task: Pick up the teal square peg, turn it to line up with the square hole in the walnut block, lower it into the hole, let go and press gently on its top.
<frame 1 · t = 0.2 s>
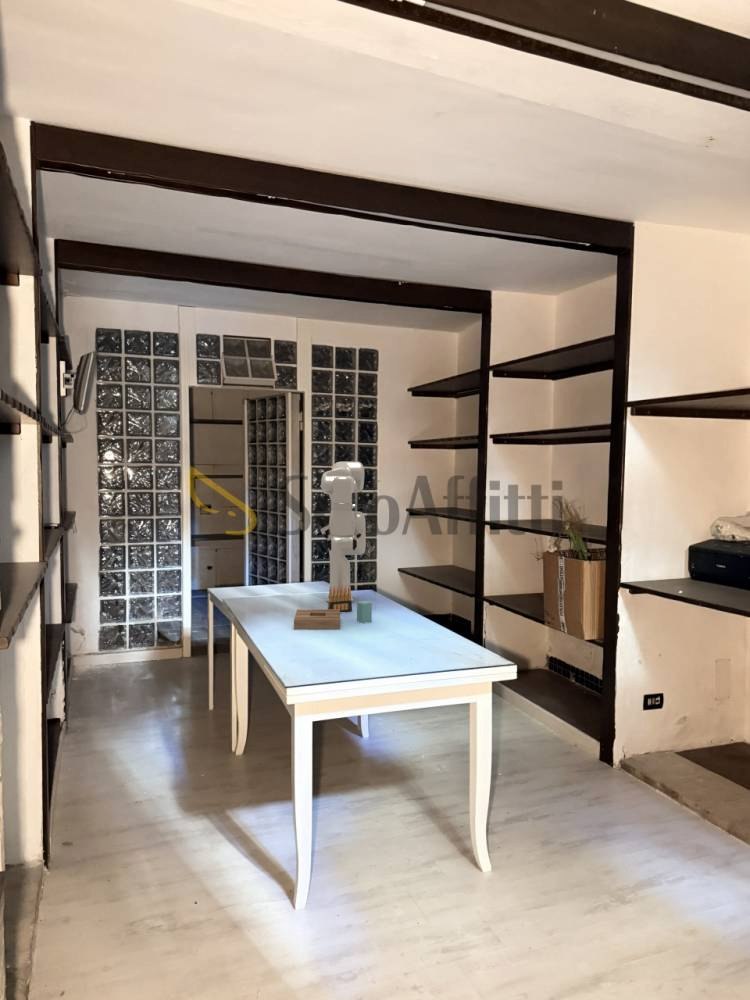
hand: (342, 549, 271), 30 cm above the table, tool pointing down, fingers open, 9 cm apart
socket block: (317, 623, 274), on the table
ammunition clip: (340, 612, 295), on the table
peg: (364, 621, 279), on the table
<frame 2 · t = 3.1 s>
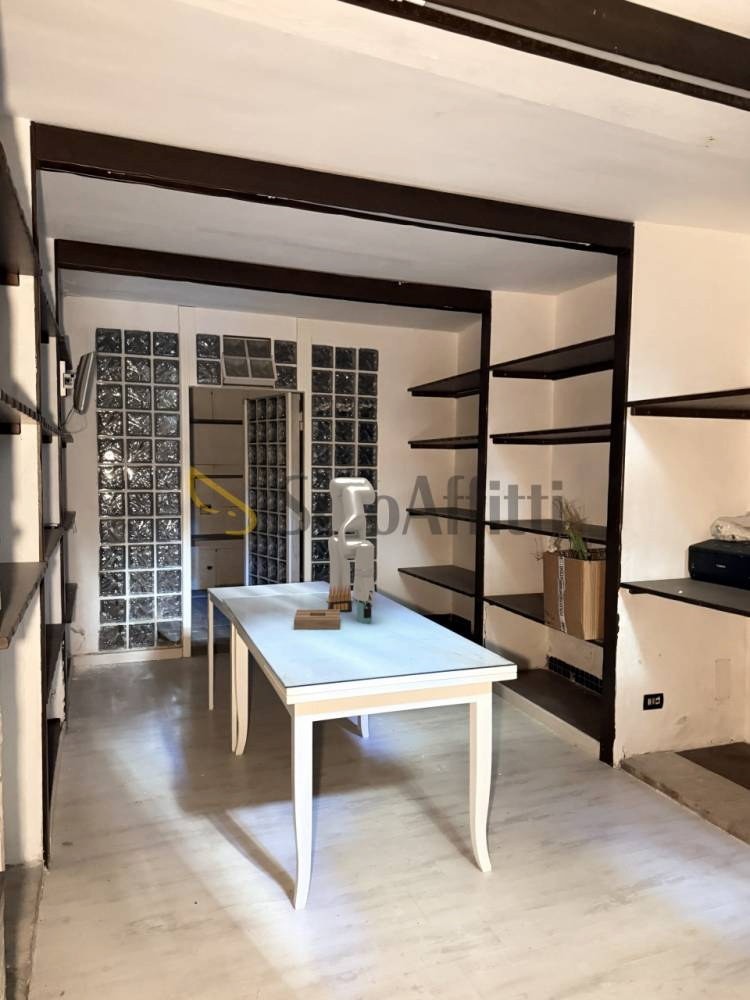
hand: (364, 616, 278), 2 cm above the table, tool pointing down, fingers closed on peg, 4 cm apart
peg: (364, 621, 279), on the table, touching gripper
everything else where it was.
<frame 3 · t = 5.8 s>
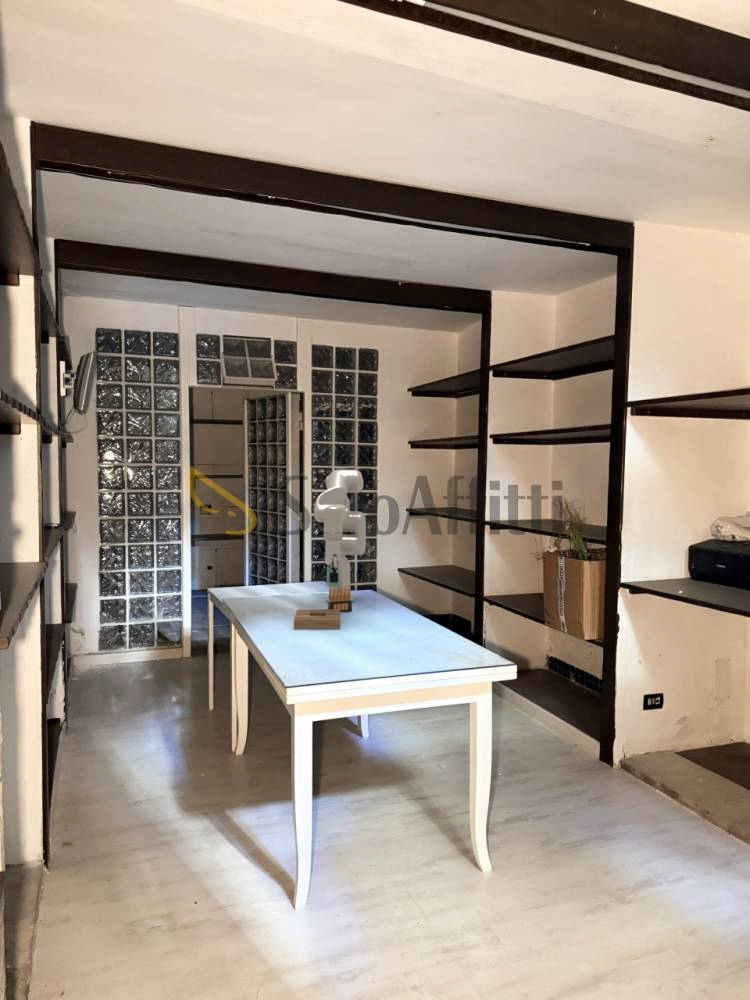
hand: (332, 580, 274), 17 cm above the table, tool pointing down, fingers closed on peg, 4 cm apart
peg: (333, 586, 274), point 15 cm above the table, touching gripper
everything else where it was.
when the fingers open (5 cm above the table, at t = 8.5 s): peg drops 3 cm, resting in socket block.
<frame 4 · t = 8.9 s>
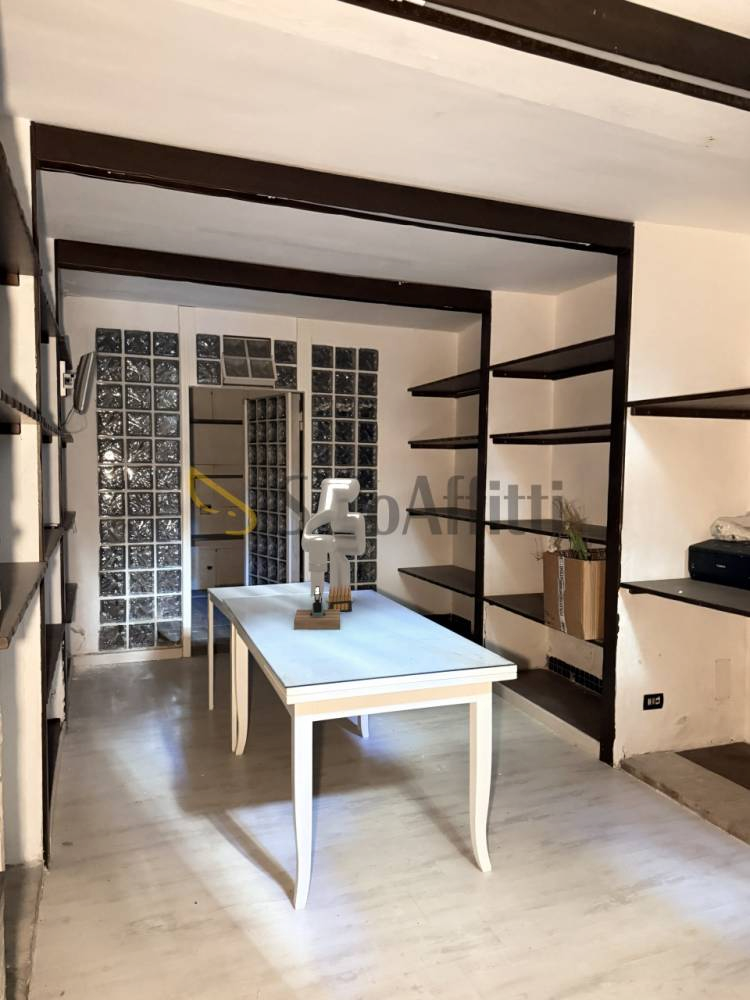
hand: (317, 609, 273), 6 cm above the table, tool pointing down, fingers open, 9 cm apart
peg: (317, 623, 274), resting in socket block
everything else where it was.
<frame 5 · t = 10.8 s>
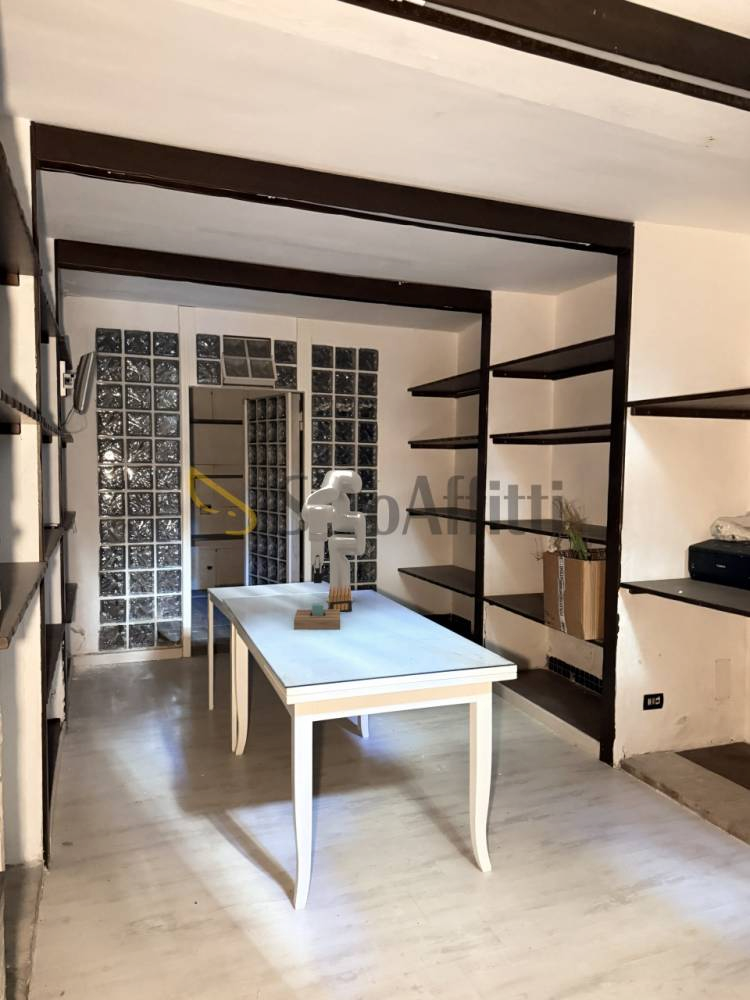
hand: (317, 581, 273), 17 cm above the table, tool pointing down, fingers open, 3 cm apart
nothing on the table moved.
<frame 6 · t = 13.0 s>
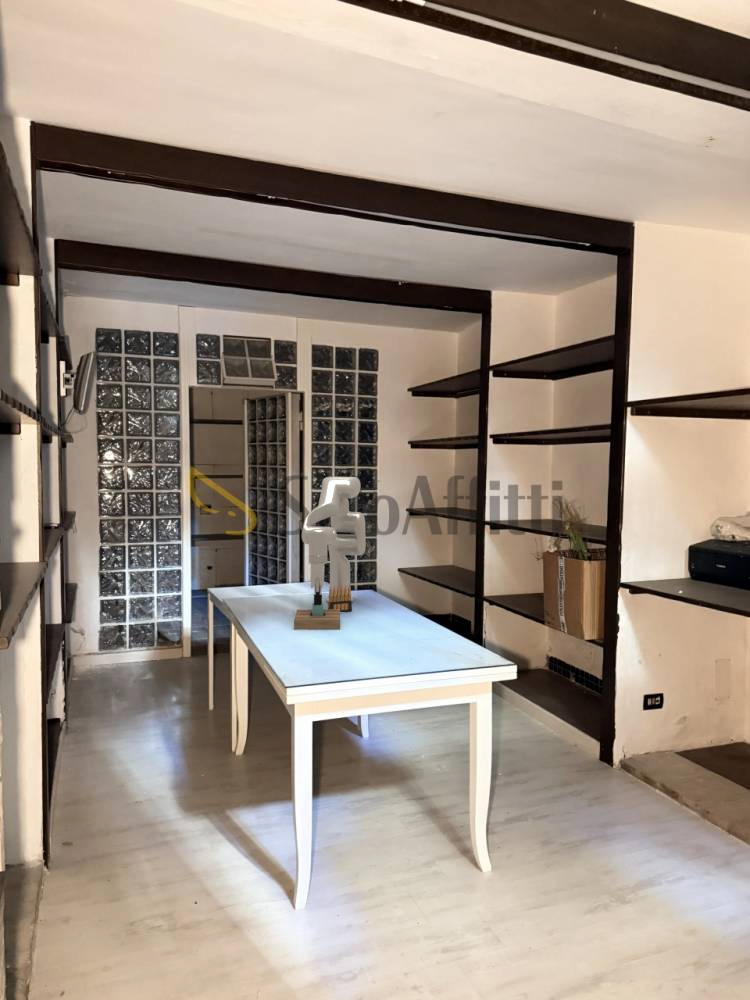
hand: (317, 604, 273), 8 cm above the table, tool pointing down, fingers closed
peg: (317, 623, 274), resting in socket block, touching gripper
everything else where it was.
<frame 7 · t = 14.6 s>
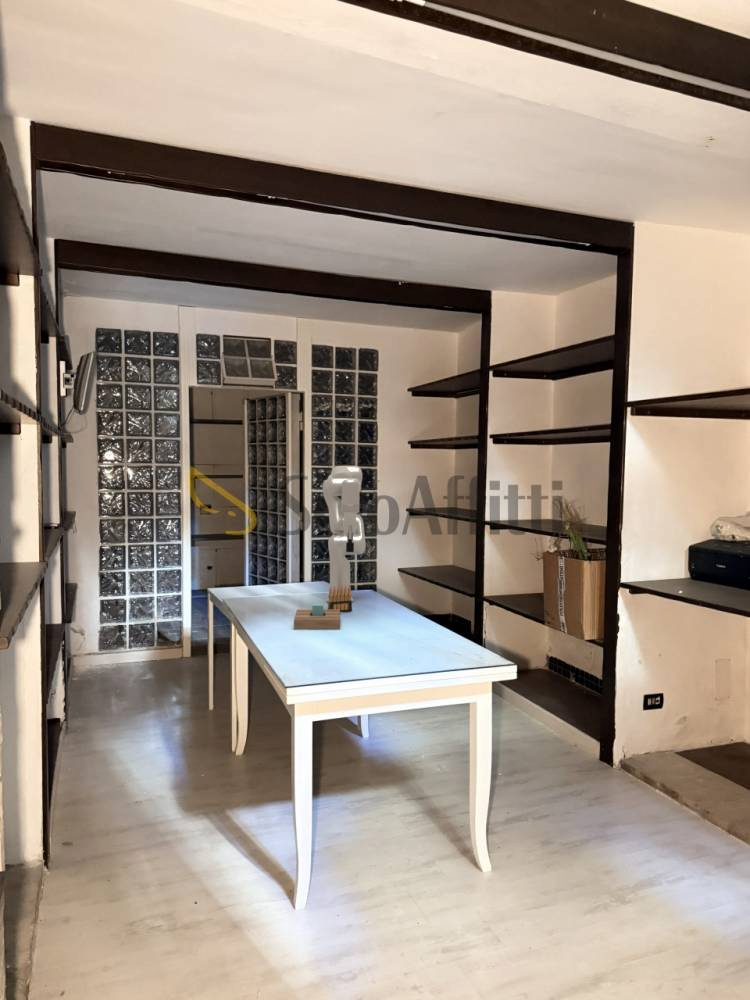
hand: (349, 551, 286), 28 cm above the table, tool pointing down, fingers closed
peg: (317, 623, 274), resting in socket block
everything else where it was.
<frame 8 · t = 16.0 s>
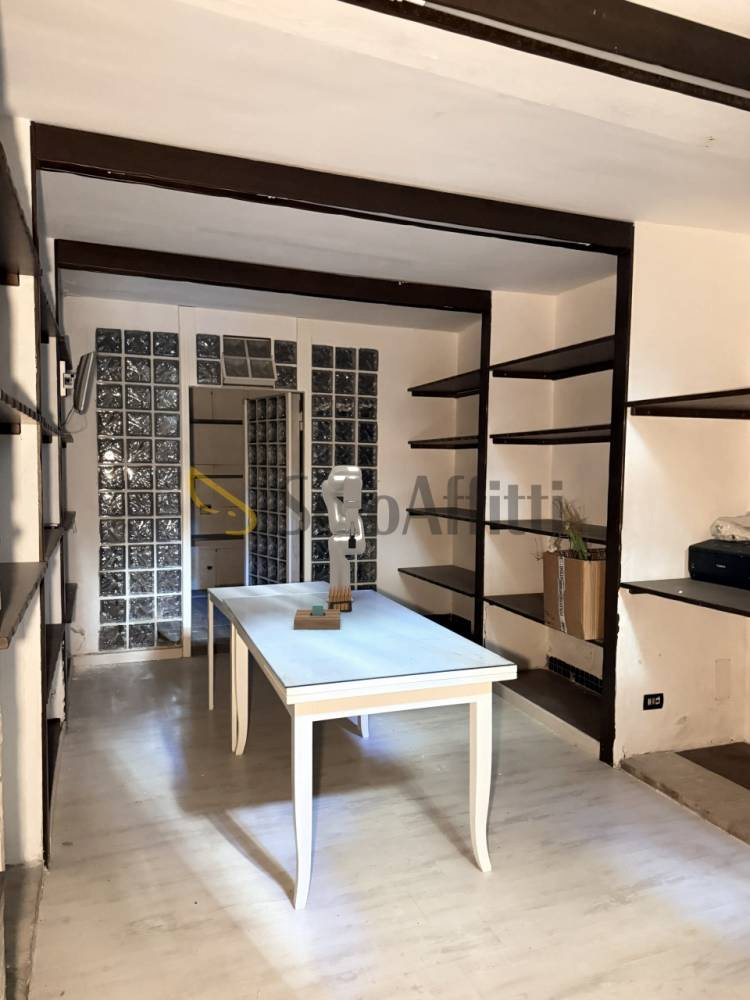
hand: (352, 548, 287), 29 cm above the table, tool pointing down, fingers closed
nothing on the table moved.
at the end: peg 0.1 cm off-centre on the socket block, point 0.0 cm above the socket block's base; peg tilted 0°; the gripper is holding nothing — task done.
